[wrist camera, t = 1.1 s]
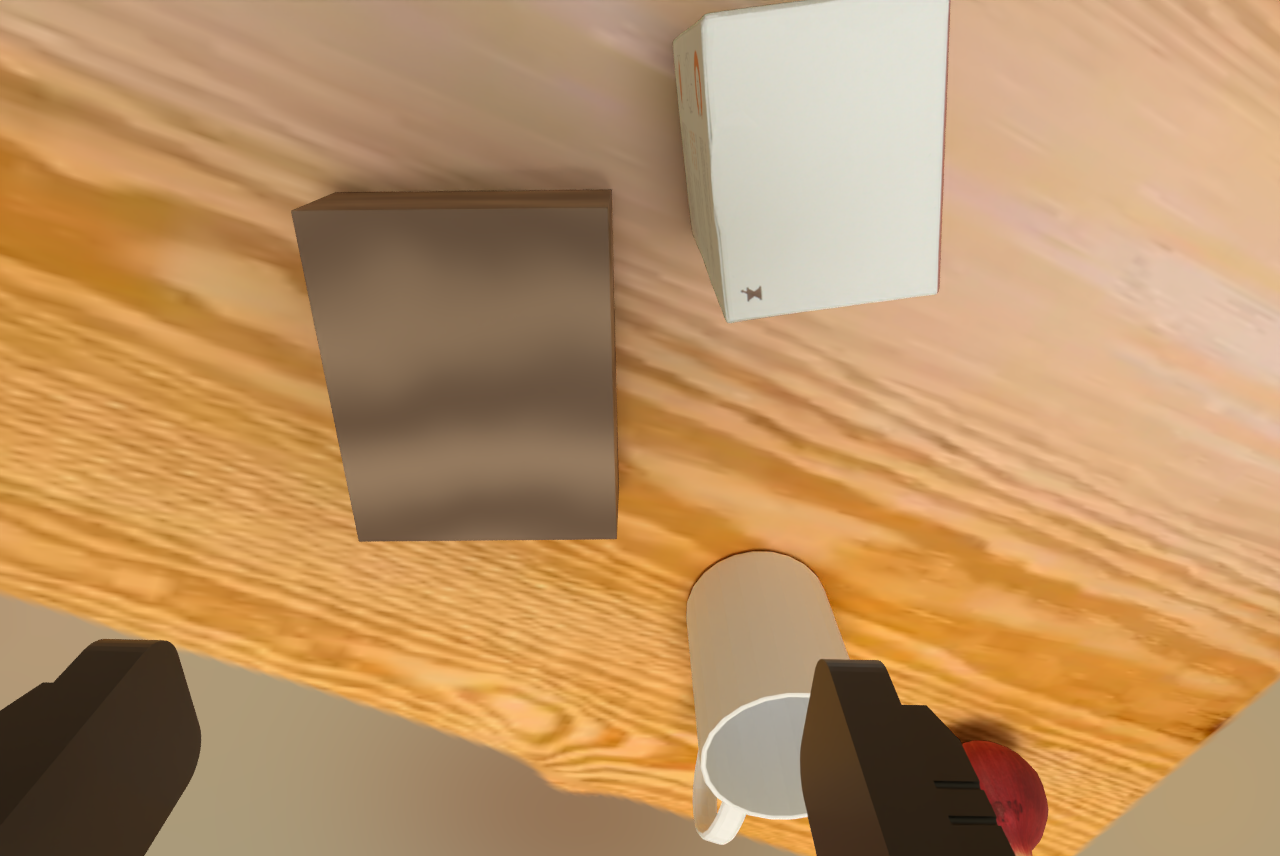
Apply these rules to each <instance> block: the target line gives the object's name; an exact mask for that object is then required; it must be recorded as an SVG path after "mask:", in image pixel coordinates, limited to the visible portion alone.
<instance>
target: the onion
mask: <svg viewBox="0 0 1280 856" xmlns="http://www.w3.org/2000/svg"><path fill="white" fill-rule="evenodd" d="M962 746H963V748H964V750H965V752H966V754H967V756H968V758H969V760H970V762H971V764H972V766H973V769H974V771H975V773H976V775H977V777H978V779H979V781H980V789H981V790H984V791H985V793H986V795H987V798H988V800H989V802H990V804H991V806H992V808H993V810H994V812H995V814H996V816H997V817H996V821H997V824H998V826H1001V827H1002V829H1003V831H1004V833H1005V835H1006V837H1007V839H1008V841H1009V843H1010V845H1011V847H1012V849H1013V851H1014V854H1015V856H1032V850H1033V849H1034V847H1035V846H1036V845H1037V844H1038V843H1039V842H1040V840H1041V838H1042V836H1043V832H1044V829H1045V826H1046V822H1047V818H1048V804H1047V799H1046V795H1045V791H1044V788H1043V784H1042V782H1041V780H1040V778H1039V776H1038V774H1037V772H1036V771H1035V770H1034V769H1033V768H1032V767H1031V766H1030V765H1029V764H1028V763H1027V762H1026V761H1025V760H1024V759H1023V758H1022V757H1021V756H1020V755H1019V754H1017V753H1016V752H1014V751H1012V750H1011V749H1009V748H1007V747H1005V746H1002V745H999V744H997V743H993V742H990V741H980V740H973V741H969V742H965V743H963V744H962Z"/></svg>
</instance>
